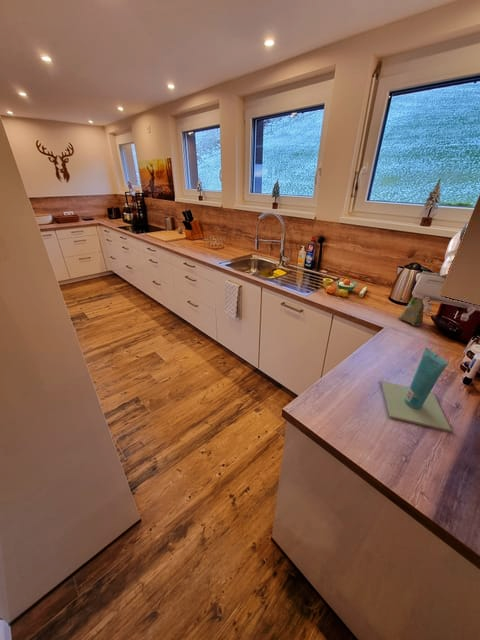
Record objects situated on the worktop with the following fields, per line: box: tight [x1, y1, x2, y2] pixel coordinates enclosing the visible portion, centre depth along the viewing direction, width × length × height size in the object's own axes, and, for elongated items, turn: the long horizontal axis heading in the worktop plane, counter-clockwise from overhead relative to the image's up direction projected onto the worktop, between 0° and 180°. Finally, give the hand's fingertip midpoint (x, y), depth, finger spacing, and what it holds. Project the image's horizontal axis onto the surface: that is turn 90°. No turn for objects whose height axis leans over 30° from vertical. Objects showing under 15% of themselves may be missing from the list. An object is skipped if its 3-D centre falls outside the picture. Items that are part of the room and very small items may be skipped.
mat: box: [381, 381, 452, 433], centre depth 84 cm, size 16×16×1 cm
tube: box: [405, 347, 450, 409], centre depth 79 cm, size 7×5×19 cm, turn 20°
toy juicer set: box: [322, 277, 368, 298], centre depth 166 cm, size 29×18×8 cm, turn 79°
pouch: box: [399, 295, 425, 327], centre depth 130 cm, size 11×12×25 cm
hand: (445, 315), depth 81 cm, fingers open, 8 cm apart
